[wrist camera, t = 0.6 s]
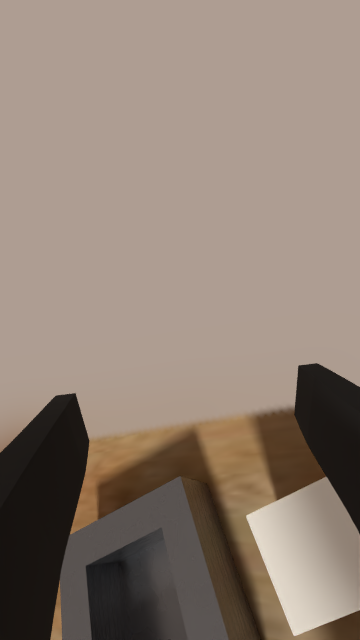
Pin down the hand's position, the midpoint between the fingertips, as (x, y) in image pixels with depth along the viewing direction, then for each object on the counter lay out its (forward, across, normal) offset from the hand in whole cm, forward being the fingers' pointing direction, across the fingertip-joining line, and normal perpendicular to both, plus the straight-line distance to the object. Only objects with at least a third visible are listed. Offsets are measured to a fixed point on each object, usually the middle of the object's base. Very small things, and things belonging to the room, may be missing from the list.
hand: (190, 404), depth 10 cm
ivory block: (+3, -8, +15) cm, 17 cm away
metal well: (+4, +3, +20) cm, 21 cm away
